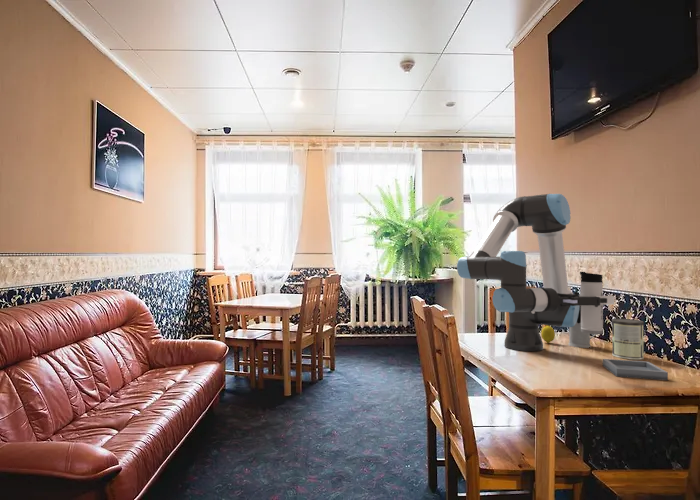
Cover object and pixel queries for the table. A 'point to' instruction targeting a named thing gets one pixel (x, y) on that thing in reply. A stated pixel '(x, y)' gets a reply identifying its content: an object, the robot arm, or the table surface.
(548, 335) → the lemon
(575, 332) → the lidded pitcher
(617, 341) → the coffee can
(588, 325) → the travel mug
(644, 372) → the tray
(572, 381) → the table surface
